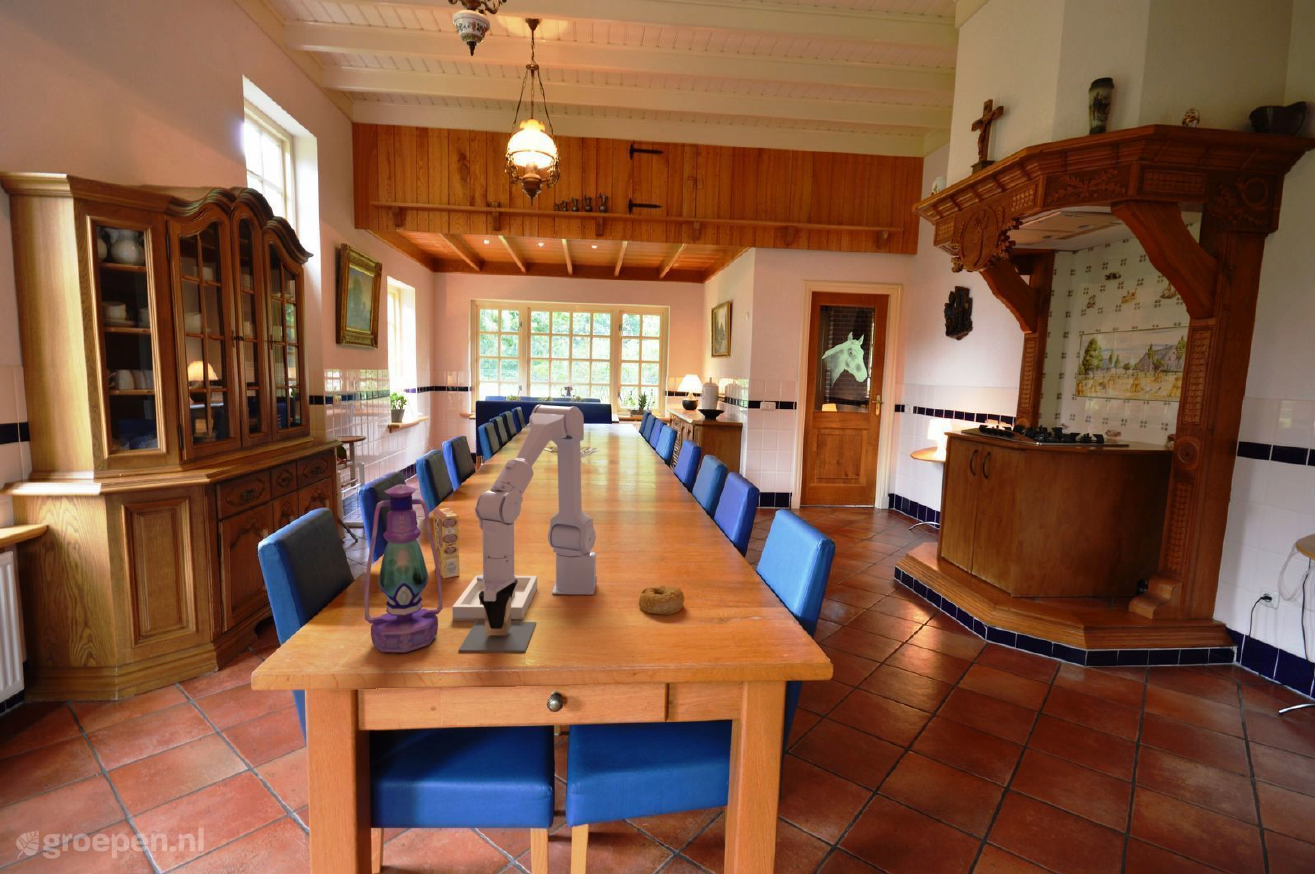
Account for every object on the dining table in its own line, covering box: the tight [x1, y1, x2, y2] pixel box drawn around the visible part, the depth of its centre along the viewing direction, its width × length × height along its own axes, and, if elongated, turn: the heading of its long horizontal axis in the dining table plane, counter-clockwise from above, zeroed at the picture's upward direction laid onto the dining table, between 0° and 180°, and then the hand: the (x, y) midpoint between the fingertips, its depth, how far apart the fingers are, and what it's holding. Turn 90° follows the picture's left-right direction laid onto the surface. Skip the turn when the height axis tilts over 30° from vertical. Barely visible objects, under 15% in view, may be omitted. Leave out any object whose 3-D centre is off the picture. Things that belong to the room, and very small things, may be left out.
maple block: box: [484, 596, 512, 635], centre depth 114 cm, size 4×4×6 cm
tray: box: [452, 574, 538, 622], centre depth 130 cm, size 14×18×3 cm
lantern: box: [363, 483, 443, 653], centre depth 110 cm, size 13×12×30 cm
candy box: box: [432, 507, 461, 579], centre depth 147 cm, size 9×4×15 cm, turn 33°
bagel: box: [638, 585, 685, 616], centre depth 130 cm, size 10×11×5 cm
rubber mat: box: [457, 621, 537, 654], centre depth 114 cm, size 12×12×1 cm
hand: (499, 622), depth 114 cm, fingers closed on maple block, 4 cm apart
